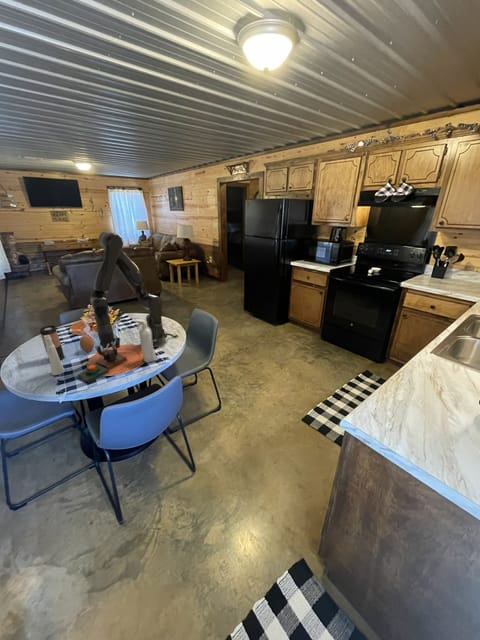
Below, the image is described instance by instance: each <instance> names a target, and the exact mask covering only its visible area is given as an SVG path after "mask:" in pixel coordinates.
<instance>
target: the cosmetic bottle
mask: <svg viewBox="0 0 480 640" xmlns="http://www.w3.org/2000/svg"><path fill="white" fill-rule="evenodd" d="M44 337H45V338H44V340H45V343H46V349H45V351H46V350H47V352H46V354H47V353H48V354H47V357H48V360H49V365H50V370H51V371H50V372H51V375H52V376H59V375H62V374H63V373H65V372H66V370H65V368H64V366H63V363H62V362H61V361H62V360H61V361H60V359H59V356H58V353H57V351H56V348H55V346H54V345H53V343H52V340H51V337H50V335H45V336H44Z"/></svg>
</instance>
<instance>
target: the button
mask: <svg viewBox="0 0 480 640" xmlns="http://www.w3.org/2000/svg"><path fill="white" fill-rule="evenodd" d="M95 365H96V364H90V365H89V366H87V368H88V371H93V370H95V369H96V366H95Z"/></svg>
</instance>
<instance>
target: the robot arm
mask: <svg viewBox="0 0 480 640" xmlns="http://www.w3.org/2000/svg"><path fill="white" fill-rule="evenodd" d="M97 239H98V244H99V246H100V248H102V250H103V251H104V257H103V261H102V262H101V265H100V266H99V268H98V270H97V272H96V276H95V279H94V286H93V289H92V292H91V295H90V297H89V298H90V299H89V301H90V305H91V306H92V308H93V312H94V320H95V326H96V332H97V336H98V340H99V344H98V345H94V349H95V350H96V352H97V354H98V355H99V356H102V357H103V358H104V360H106V361H108V356H107V351H108V350H109V349H110V348H111V349H112V350H115V355H116V356H117V355H118V354H119V353H118V349H119V348H121V338H120V337H118V336H115V334H114V333H115V332H114V328H113V325H112V321H111V316H110V313H109V312H110V310H109V303H108V301H107V298H106V297H107V294H108V292H109V291H110V288H111V284H112V278H113V275H114V271H115V268H117V270H118V271H119V273H120V275H121V276H122V277H123V279H124V280H125V281H126V283H127V284H128V286H129V287H130V289H131V290H132V292H133V293H134V295H135V296H136V298H137V300H138V302H139V304H140V305H141V306H142V308H143V309H145V310H149V314H147V315H146V316H145V320H146V322H147V324H146V326H148V327H149V328H151V331H152V342H153V348H161V347H163V346H164V345H165V344H166V343H167V341H166V339H167V338H168V336H171V337H173V338H177V337H178V334H175V335H173V334H172V333H167V332H165V329H164V326H163V318H162V317H163V305H162V299H161V298H160V297H159V296H158V295H155V294H154V295H153V294H150V292H149V291H148V290H147V288H146V286H145V281H144V276H143V274H142V272H141V270H140V269H139V267H138V266H137V265H136V264H135V262H134V261H132V260H131V259H130V257H129V256H128V255H127V254H126V253H125V252H124V250H123V246H124V240H123V238H122V236H121V235H120V234H118V233H115V232H112V231H102V232H100V233H99V235H98V238H97ZM149 328H148V329H149ZM103 358H102V359H103Z"/></svg>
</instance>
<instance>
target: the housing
mask: <svg viewBox="0 0 480 640" xmlns="http://www.w3.org/2000/svg"><path fill="white" fill-rule="evenodd" d="M94 365H95V366H96V369H95V370H93V371H88V367H86V368H85V369H84V371H82V372H80V373H78V374H77V378H78V379H80V380H81V381H84V382H86V383H88V384H90V383H91V382H94V381H95V380H97V379H99V378H101V377H103V376H104V375H106V374H108V373H109V371H108V369H106V368H104V367H102V366H100V365H97V364H94Z"/></svg>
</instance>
